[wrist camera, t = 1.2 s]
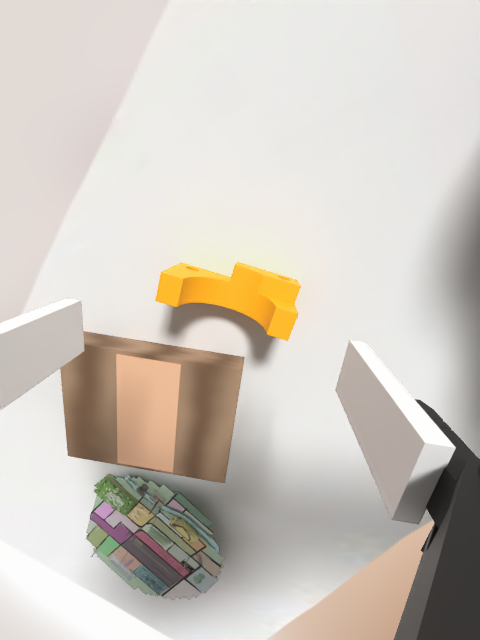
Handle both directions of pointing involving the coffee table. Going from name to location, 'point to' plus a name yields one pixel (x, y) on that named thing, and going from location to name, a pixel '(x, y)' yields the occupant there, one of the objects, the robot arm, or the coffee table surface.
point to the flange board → (151, 406)
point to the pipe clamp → (235, 293)
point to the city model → (153, 538)
